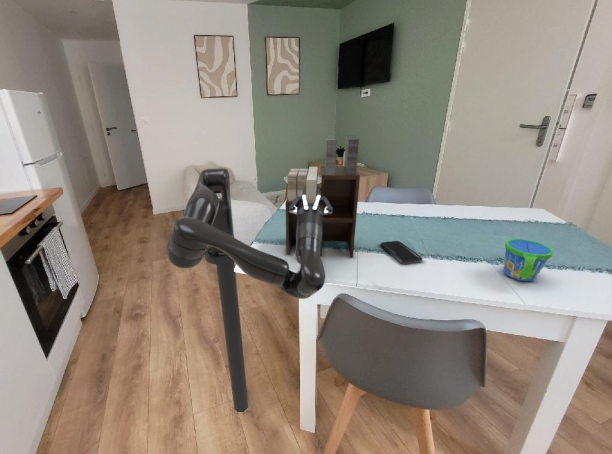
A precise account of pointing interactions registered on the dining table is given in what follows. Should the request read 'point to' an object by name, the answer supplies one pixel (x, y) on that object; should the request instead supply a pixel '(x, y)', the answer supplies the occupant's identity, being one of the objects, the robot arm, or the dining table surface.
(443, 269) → the dining table surface
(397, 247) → the phone
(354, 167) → the bookcase
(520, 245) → the snack cup
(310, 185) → the white book
